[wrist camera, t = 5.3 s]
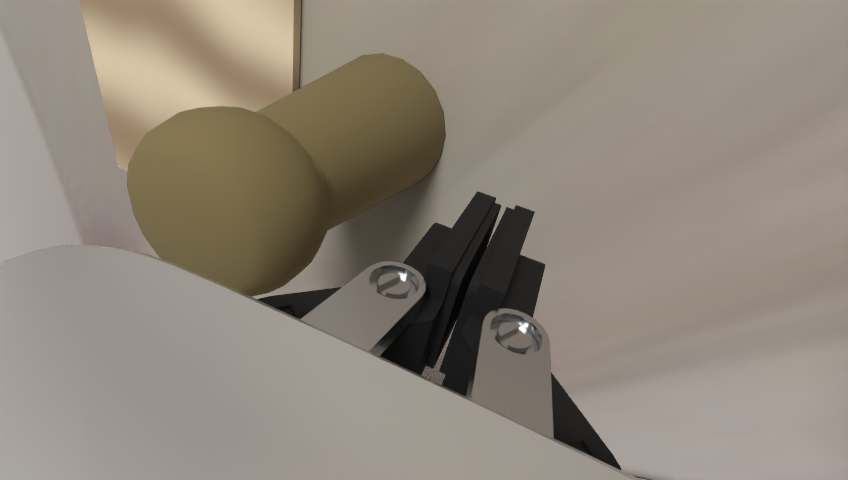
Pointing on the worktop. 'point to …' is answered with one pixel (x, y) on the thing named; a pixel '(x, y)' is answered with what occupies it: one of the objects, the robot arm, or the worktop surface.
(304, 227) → the pepper shaker
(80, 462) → the robot arm
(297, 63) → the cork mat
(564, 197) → the worktop surface
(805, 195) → the worktop surface
